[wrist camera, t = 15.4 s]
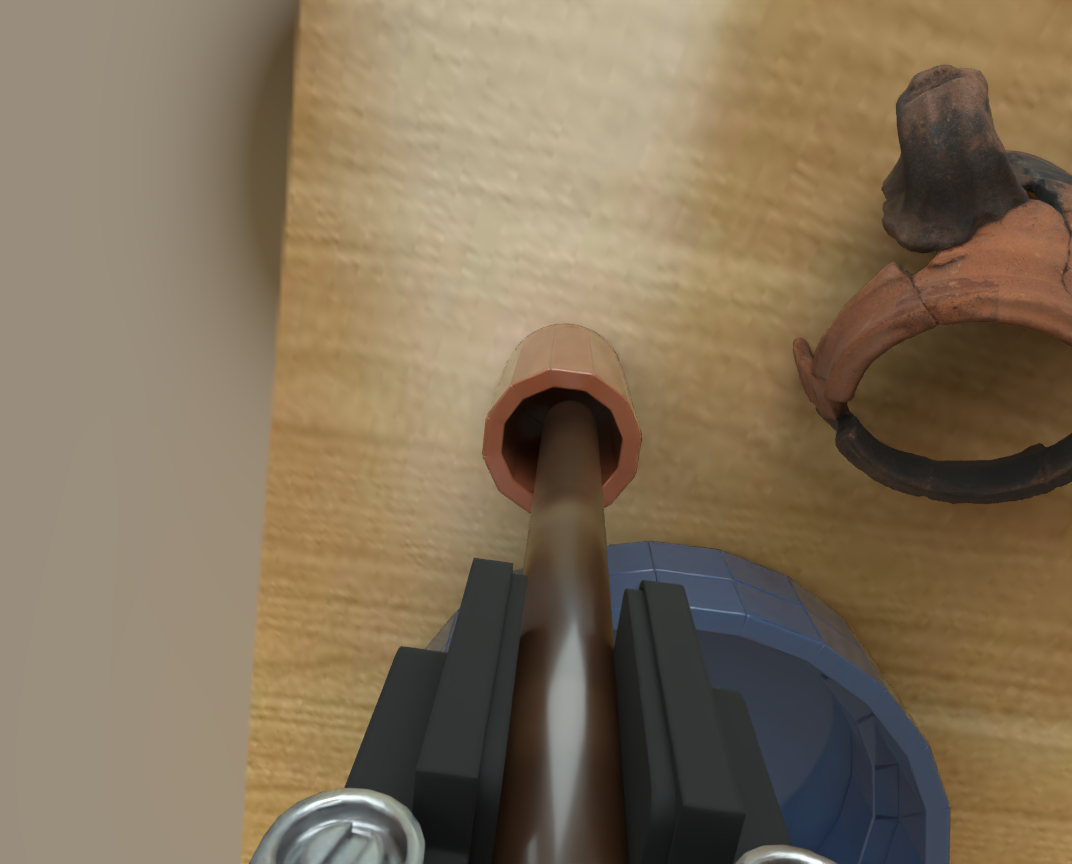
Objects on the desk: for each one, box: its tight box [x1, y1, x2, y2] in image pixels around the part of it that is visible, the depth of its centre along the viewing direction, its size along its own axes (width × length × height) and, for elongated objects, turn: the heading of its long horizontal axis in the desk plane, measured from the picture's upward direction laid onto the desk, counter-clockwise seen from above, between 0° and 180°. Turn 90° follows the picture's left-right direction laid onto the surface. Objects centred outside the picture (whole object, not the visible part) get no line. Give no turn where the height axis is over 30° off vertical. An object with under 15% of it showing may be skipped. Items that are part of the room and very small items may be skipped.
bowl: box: [425, 541, 950, 864], centre depth 28 cm, size 20×20×5 cm
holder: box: [482, 324, 642, 514], centre depth 23 cm, size 4×4×7 cm
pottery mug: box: [793, 65, 1072, 504], centre depth 22 cm, size 12×10×8 cm
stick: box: [492, 401, 629, 864], centre depth 13 cm, size 1×1×16 cm
